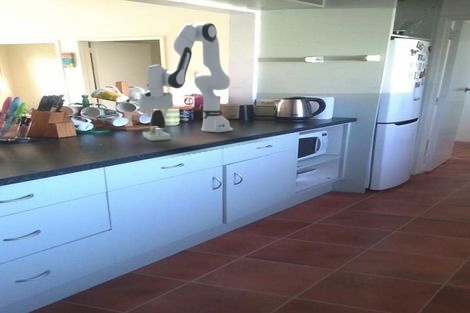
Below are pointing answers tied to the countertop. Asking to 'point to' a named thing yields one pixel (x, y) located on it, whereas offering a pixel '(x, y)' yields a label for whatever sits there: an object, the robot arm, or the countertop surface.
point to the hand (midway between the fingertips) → (156, 116)
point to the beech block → (153, 130)
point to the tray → (156, 136)
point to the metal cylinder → (158, 131)
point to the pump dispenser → (158, 119)
